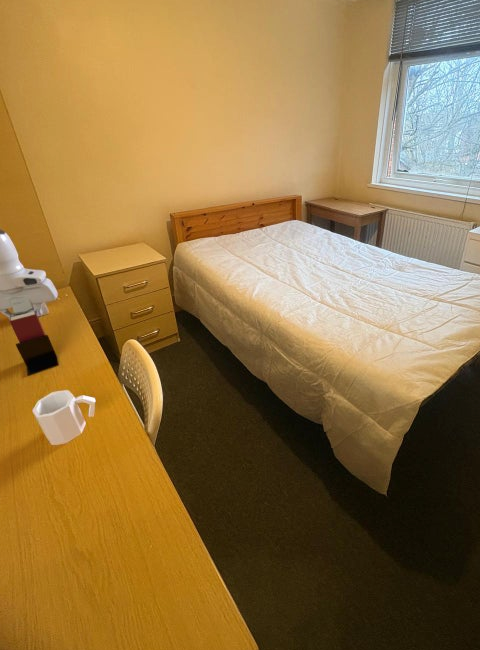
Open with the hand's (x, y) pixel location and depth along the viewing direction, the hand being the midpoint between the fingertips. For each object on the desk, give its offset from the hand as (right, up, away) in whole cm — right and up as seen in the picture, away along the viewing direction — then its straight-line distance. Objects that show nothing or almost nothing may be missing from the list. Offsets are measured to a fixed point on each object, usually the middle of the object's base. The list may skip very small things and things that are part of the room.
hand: (27, 316), depth 106 cm
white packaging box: (-16, -1, +24) cm, 29 cm away
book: (+4, -6, -2) cm, 7 cm away
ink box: (+1, -4, +1) cm, 5 cm away
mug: (+33, -27, -23) cm, 48 cm away
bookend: (+8, -16, -3) cm, 18 cm away
